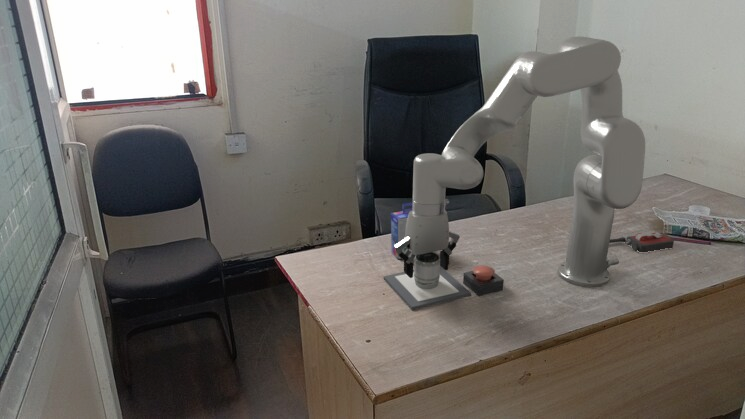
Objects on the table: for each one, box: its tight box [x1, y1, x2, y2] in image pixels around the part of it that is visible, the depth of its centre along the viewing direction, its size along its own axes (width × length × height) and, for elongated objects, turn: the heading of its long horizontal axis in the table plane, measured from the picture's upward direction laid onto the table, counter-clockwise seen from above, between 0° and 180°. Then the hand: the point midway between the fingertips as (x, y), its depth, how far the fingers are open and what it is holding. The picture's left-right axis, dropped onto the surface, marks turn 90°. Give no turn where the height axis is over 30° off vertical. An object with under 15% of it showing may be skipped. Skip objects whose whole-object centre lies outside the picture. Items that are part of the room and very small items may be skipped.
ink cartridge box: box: [390, 201, 413, 260], centre depth 149 cm, size 10×6×14 cm, turn 113°
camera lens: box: [413, 252, 440, 289], centre depth 132 cm, size 6×6×8 cm
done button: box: [472, 265, 496, 282], centre depth 132 cm, size 5×5×3 cm
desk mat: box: [383, 266, 472, 311], centre depth 133 cm, size 16×16×1 cm
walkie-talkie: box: [609, 231, 675, 253], centre depth 154 cm, size 9×4×20 cm
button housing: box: [462, 270, 505, 297], centre depth 133 cm, size 7×7×3 cm
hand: (426, 271), depth 132 cm, fingers open, 9 cm apart
